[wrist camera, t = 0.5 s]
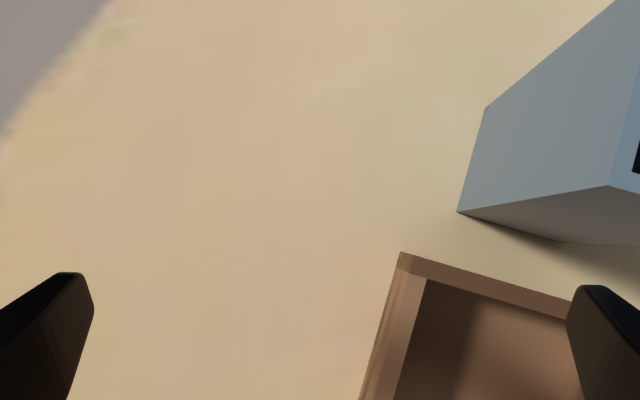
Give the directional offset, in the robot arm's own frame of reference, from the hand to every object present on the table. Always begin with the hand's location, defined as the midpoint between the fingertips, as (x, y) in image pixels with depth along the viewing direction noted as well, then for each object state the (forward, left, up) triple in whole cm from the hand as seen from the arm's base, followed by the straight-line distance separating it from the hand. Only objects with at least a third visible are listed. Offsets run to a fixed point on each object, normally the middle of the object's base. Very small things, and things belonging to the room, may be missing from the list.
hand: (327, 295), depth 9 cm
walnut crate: (-8, -2, -14) cm, 16 cm away
